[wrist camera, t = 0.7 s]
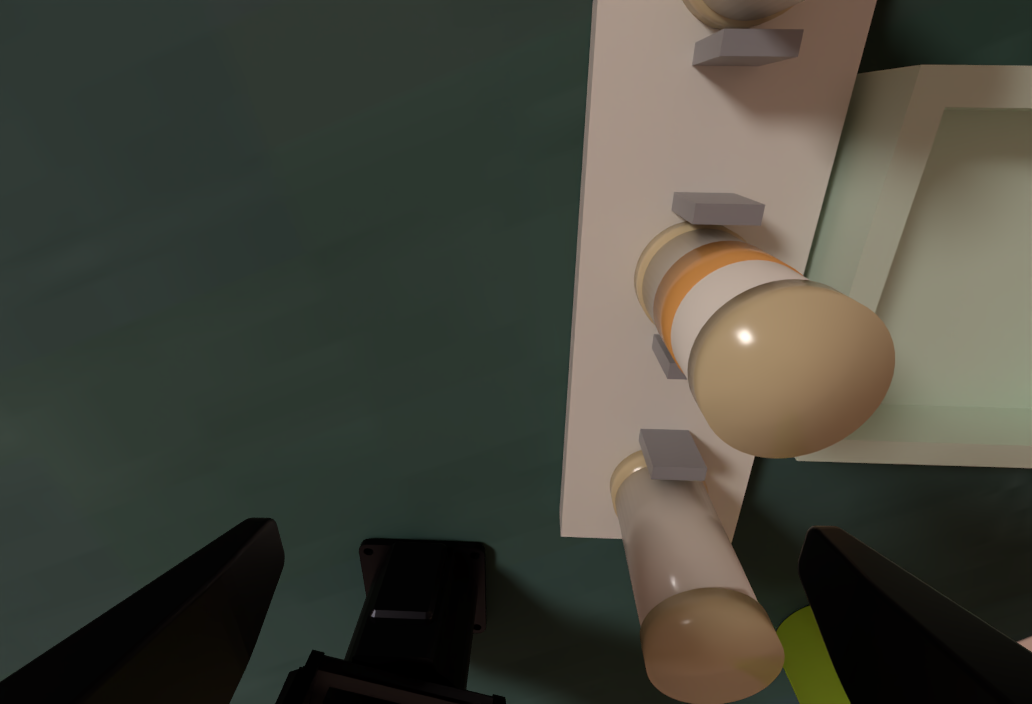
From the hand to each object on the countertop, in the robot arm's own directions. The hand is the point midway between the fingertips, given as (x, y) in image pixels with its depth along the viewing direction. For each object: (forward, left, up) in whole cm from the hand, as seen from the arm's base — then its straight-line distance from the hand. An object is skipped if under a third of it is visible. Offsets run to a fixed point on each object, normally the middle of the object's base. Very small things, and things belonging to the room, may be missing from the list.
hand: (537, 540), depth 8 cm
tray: (+1, -16, -13) cm, 21 cm away
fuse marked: (+1, -6, -11) cm, 13 cm away
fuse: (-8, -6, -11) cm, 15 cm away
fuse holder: (+1, -6, -13) cm, 14 cm away
